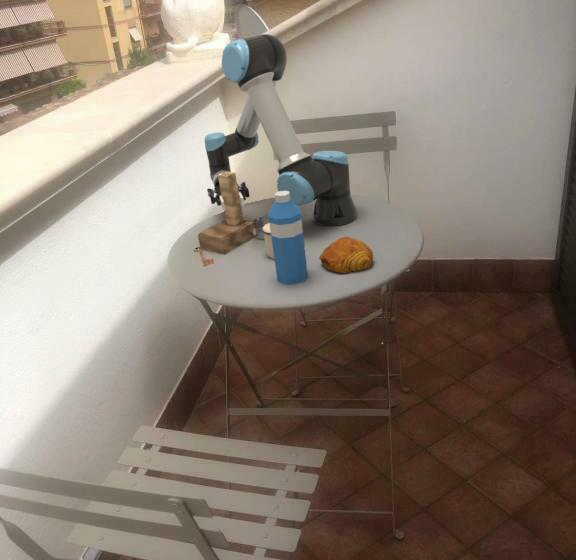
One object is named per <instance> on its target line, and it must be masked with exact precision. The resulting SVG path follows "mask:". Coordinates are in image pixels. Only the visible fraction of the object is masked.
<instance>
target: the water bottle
mask: <svg viewBox="0 0 576 560" xmlns="http://www.w3.org/2000/svg"><path fill="white" fill-rule="evenodd" d="M274 198H275V201H274V202H273V204H272V206H271V207H270V210H269V211H268V221H269V222H268V223H270V230H271V238H272V245H273V252H274V259H273V260H274V264H275V265H274V266H275V272H276V279H277V282H279V283H281V284H284V285H293V284H300V283H302V282H303V280H304V281H305V280H307V279H309V276H308V275H309V274H308V266H307V255H306V250H305V240H304V230H303V222H302V221H303V219H302V213H301V208H300V206H297V205H296V204H295V203H294V202H293V201H292V200H291V199H290V193H289V191H277V192H275V193H274Z"/></svg>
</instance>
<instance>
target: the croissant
mask: <svg viewBox="0 0 576 560" xmlns="http://www.w3.org/2000/svg"><path fill="white" fill-rule="evenodd" d="M373 258H374V254H373V251H372V249H371V248H370V247H369V246H368V245H367V244H366V243H365V242H364V241H362V240H359V239H357V238H354V237H349V236H344V237H340V238H338V239H337V240H335V241H334V242H332V243H330V244H329V245H328V246H327V247H325V248H324V250H323V251H322V252H321V254H320V256H319V261H320V263H322V266H324V267H325V268H326V269H327V270H329V271H332V272H333V271H334V272H335V273H341V274H343V275H345V274H350V273H351V272H357V271H362V270H365V269H368V268H369V267H371V266H372V265H371V264H372V263H373V260H374V259H373Z"/></svg>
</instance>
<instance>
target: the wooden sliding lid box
mask: <svg viewBox="0 0 576 560" xmlns="http://www.w3.org/2000/svg"><path fill="white" fill-rule="evenodd" d="M243 221H244V223H243V224H241V225H239V226H237V227H236V226H231V225H227V222H226V219H224V220H223V221H221V222H219V223H218V222H217V223H215V224H214V225H212V226H210V227H208V228H206V229H204V230H202V231H200V232H198V234H197V237H198V238H197V239H198V243H199V247H200V248H199V249H200V250H203V249H205V250H204V251H209V252H213V253H217V254H222V255H226V254H229V252H231V251H233V250H235V249H236V248H238V247H240V246H242V245H243V244H245V243H246V242H248V241H251V239H254V238H255V237H254V234H253V229H254V228H256V227H257V226H256V221H252V220H248V219H243ZM256 229H257V228H256Z"/></svg>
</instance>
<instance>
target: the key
mask: <svg viewBox="0 0 576 560" xmlns="http://www.w3.org/2000/svg"><path fill="white" fill-rule="evenodd" d="M198 248H199V249H198ZM195 249H196V250H195ZM193 251H194V252H195V251H196V253H199V255H200V258H201V261H202V263H203V266H204V267H207V266H209V265H212V264H214V263H215V262H214V258H211V259H205V257H204V256H205V255H204V253H203V251H206V250H205V249H201V248H200V246H198V247H195V248H194V249H193ZM199 251H200V252H199Z"/></svg>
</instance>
